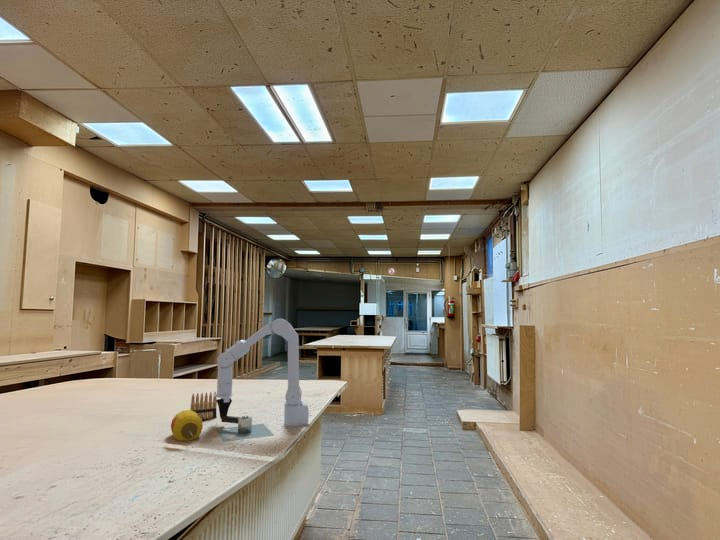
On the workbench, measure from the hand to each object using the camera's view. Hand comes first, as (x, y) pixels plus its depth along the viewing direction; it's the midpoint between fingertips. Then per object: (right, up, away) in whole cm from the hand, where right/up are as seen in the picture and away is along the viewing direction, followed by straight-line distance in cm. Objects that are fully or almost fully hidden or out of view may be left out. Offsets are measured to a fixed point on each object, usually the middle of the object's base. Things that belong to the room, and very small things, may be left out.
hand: (223, 417), depth 161 cm
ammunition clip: (-12, -6, +10) cm, 17 cm away
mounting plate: (+11, -3, -9) cm, 15 cm away
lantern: (-8, -3, -16) cm, 18 cm away
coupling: (+8, -2, -8) cm, 11 cm away
